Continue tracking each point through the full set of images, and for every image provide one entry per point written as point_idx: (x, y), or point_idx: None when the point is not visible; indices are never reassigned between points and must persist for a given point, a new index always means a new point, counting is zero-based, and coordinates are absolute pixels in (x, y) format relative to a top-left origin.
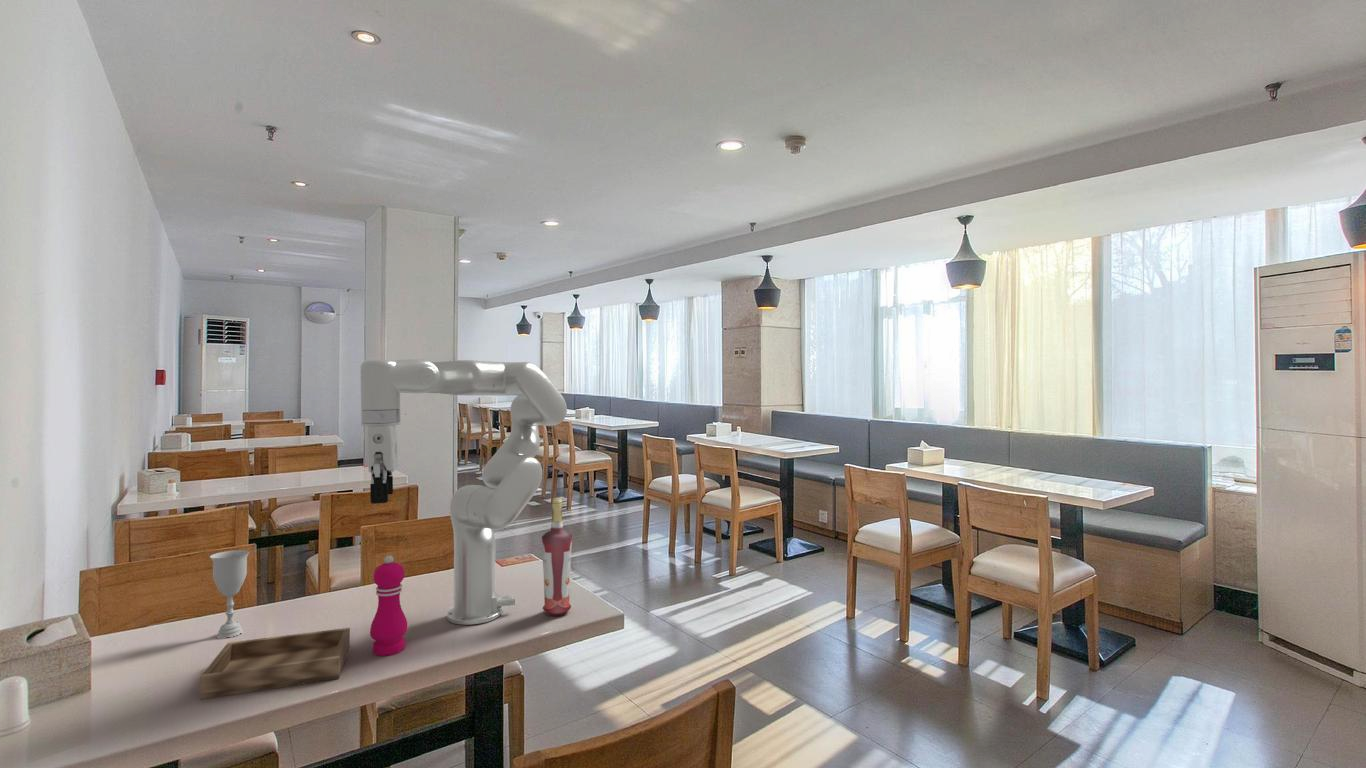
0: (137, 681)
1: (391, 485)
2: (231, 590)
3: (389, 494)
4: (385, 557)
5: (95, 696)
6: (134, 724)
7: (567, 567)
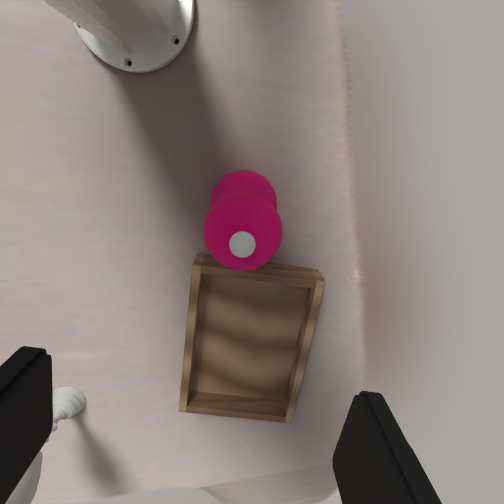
0: (198, 458)
1: (4, 403)
2: (40, 460)
3: (48, 362)
4: (241, 256)
5: (222, 481)
6: (316, 441)
7: None
